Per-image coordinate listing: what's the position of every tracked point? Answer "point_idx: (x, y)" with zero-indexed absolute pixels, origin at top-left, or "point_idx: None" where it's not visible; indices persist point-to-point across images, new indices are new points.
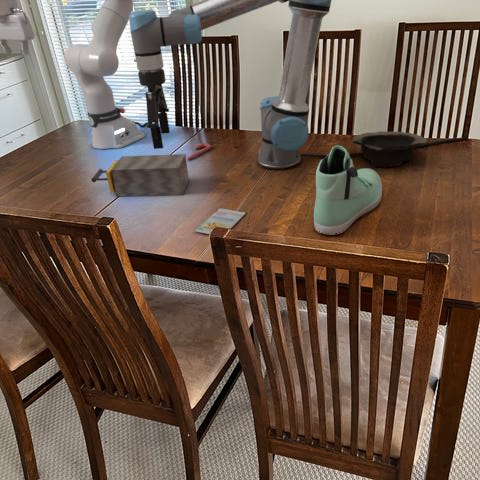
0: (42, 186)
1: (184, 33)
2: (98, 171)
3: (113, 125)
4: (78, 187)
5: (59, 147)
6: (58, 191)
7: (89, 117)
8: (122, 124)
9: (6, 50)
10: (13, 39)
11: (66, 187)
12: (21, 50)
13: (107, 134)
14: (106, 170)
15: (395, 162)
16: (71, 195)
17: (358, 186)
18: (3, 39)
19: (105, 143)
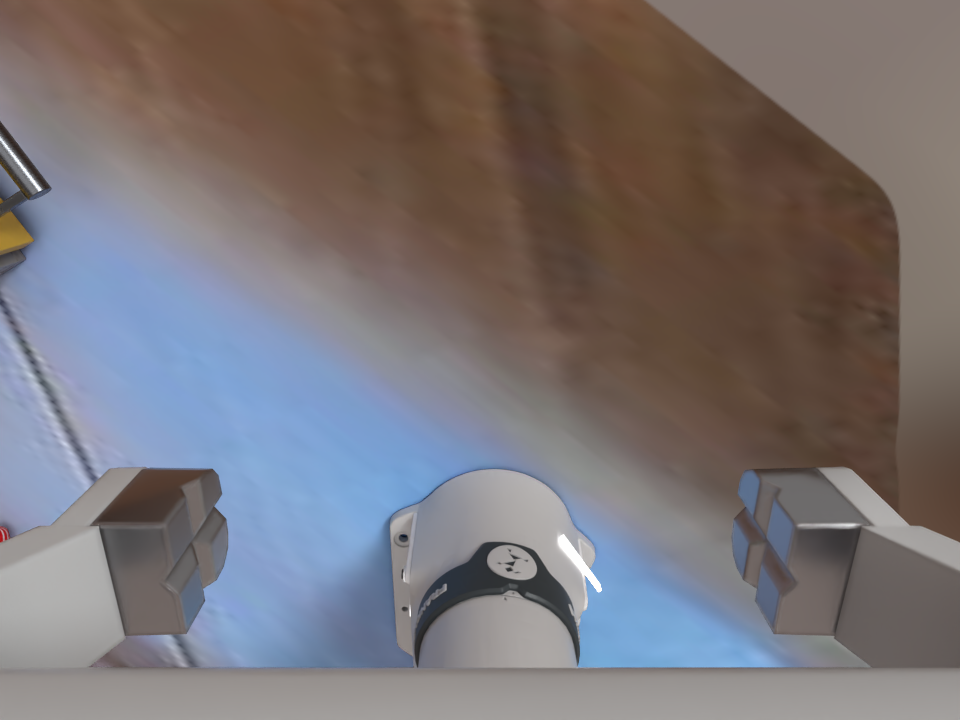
0: (342, 25)
1: None
2: (9, 166)
3: (410, 591)
4: (166, 107)
5: (698, 411)
6: (211, 23)
7: (517, 575)
8: (412, 628)
9: (777, 499)
10: (61, 676)
11: (219, 78)
12: (130, 512)
13: (433, 538)
14: (10, 206)
15: None
16: (110, 22)
17: None
18: (802, 669)
19: (447, 500)
